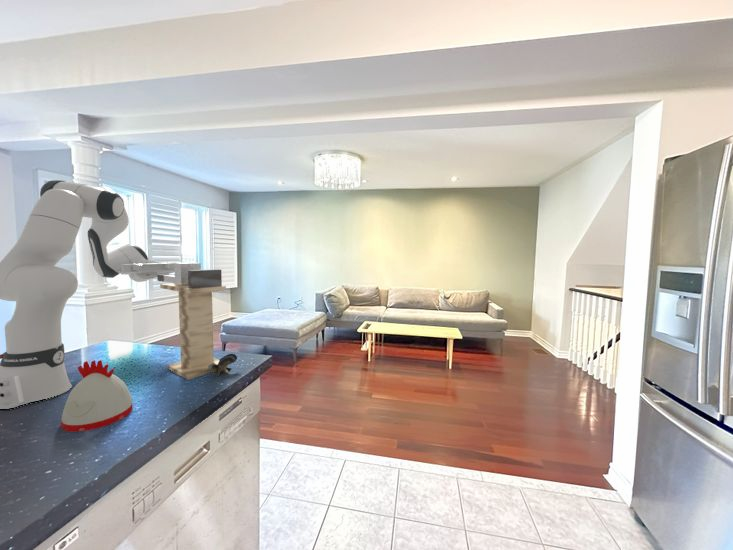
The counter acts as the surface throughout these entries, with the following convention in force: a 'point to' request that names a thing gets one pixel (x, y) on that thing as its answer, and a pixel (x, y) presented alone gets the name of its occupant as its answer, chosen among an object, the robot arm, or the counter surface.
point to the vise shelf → (196, 322)
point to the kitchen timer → (96, 399)
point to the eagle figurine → (223, 364)
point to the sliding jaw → (179, 273)
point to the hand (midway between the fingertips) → (153, 265)
